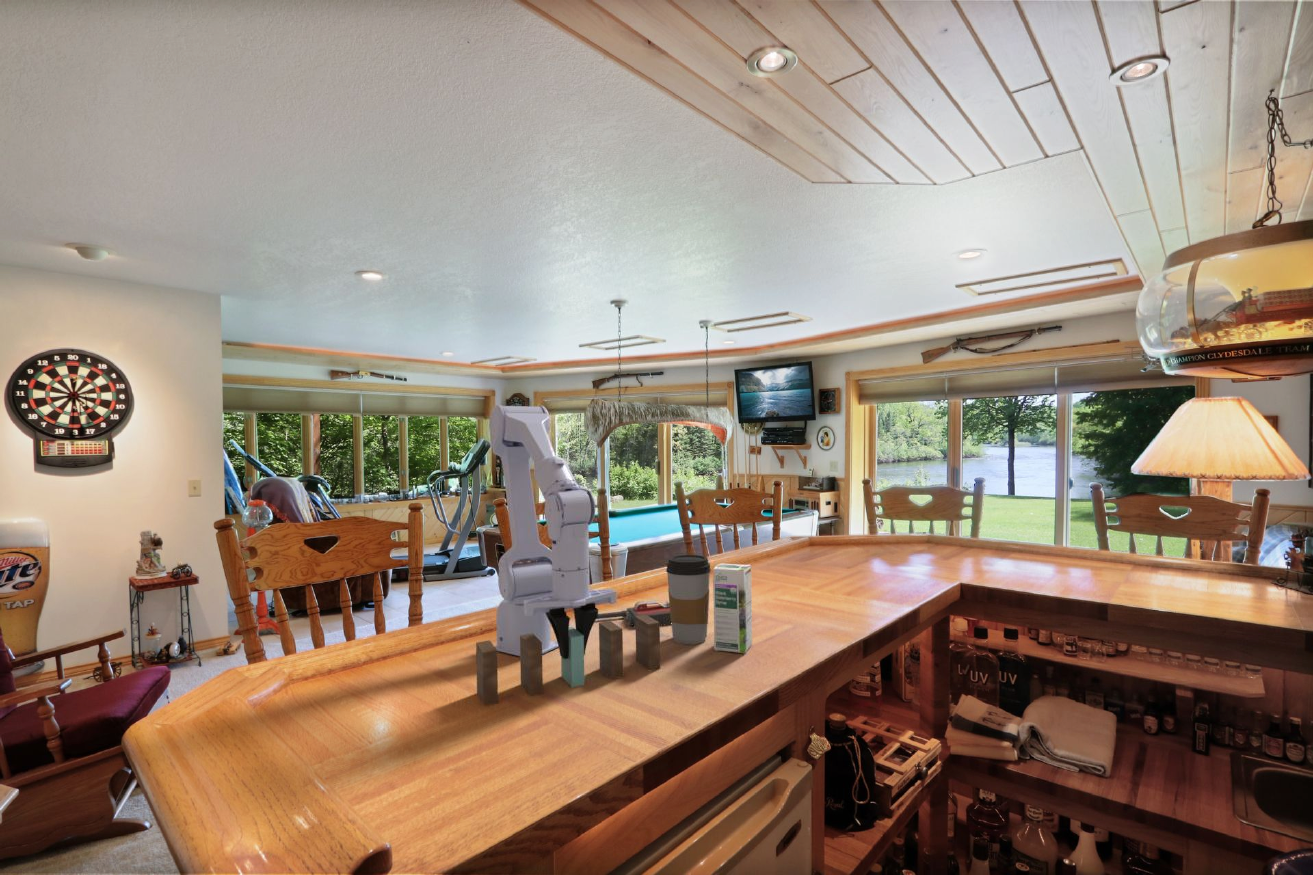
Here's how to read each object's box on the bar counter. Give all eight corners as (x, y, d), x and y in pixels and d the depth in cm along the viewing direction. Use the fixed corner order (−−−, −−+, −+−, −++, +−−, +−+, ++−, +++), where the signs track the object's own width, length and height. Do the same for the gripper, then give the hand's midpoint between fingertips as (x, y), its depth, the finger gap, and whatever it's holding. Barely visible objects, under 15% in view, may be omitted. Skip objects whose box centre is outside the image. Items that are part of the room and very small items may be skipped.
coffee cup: (709, 647, 107) (707, 563, 108) (663, 645, 109) (661, 562, 109) (714, 633, 116) (713, 554, 116) (671, 631, 117) (670, 553, 117)
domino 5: (649, 671, 97) (648, 624, 97) (636, 661, 102) (635, 616, 102) (660, 668, 98) (659, 622, 98) (646, 659, 102) (646, 614, 103)
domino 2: (529, 696, 88) (528, 644, 88) (520, 684, 93) (520, 635, 93) (542, 693, 89) (541, 642, 89) (533, 681, 94) (532, 633, 94)
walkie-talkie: (680, 612, 132) (589, 622, 126) (680, 592, 132) (589, 600, 126) (694, 623, 123) (597, 634, 117) (694, 602, 123) (597, 611, 118)
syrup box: (713, 650, 106) (711, 568, 106) (722, 640, 111) (721, 561, 111) (745, 654, 104) (743, 569, 104) (753, 643, 109) (751, 563, 109)
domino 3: (572, 687, 91) (571, 637, 91) (561, 676, 96) (560, 628, 96) (584, 684, 92) (583, 635, 92) (573, 673, 97) (572, 626, 97)
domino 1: (483, 705, 85) (482, 652, 85) (477, 693, 90) (476, 642, 90) (498, 702, 86) (497, 650, 86) (490, 690, 91) (489, 640, 91)
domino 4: (611, 679, 94) (610, 630, 94) (599, 668, 99) (598, 622, 99) (623, 676, 95) (622, 628, 95) (611, 666, 99) (610, 620, 100)
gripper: (531, 577, 87) (533, 672, 87) (623, 566, 94) (625, 654, 94) (519, 569, 93) (521, 657, 93) (606, 559, 100) (608, 641, 100)
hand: (572, 655), depth 94 cm, fingers closed on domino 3, 2 cm apart
